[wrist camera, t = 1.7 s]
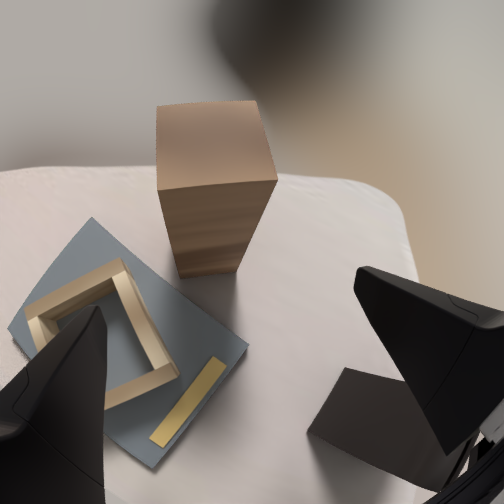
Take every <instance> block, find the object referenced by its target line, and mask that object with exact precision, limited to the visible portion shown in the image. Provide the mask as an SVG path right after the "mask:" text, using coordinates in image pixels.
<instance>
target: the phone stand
mask: <svg viewBox="0 0 504 504" xmlns="http://www.w3.org/2000/svg"><path fill="white" fill-rule="evenodd" d="M308 431H309V432H311V433H313V434H314V435H316V436H318V437H320V438H321V439H323V440H325V441H327V442H328V443H330V444H332V445H334V446H336V447H338V448H339V449H341V450H343V451H345V452H347V453H349V454H351V455H353V456H355V457H357V458H359V459H361V460H363V461H365V462H367V463H369V464H371V465H373V466H375V467H377V468H379V469H382V470H384V471H386V472H388V473H390V474H393V475H395V476H397V477H399V478H402V479H404V480H406V481H408V482H410V483H412V484H414V485H416V486H419V487H422V488H424V489H427V490H430V491H434V492H437V493H439V492H440V491H442V490H443V489H444V488H446V487H447V486H448V485H450V484H451V483H452V482H453V481H455V480H456V479H457V478H458V476H459V474H460V472H461V470H462V469H463V467H464V465H465V463H466V461H467V459H468V457H469V455H470V450H471V449H472V448H473V447H474V444H475V442H476V440H477V438H478V436H479V433H480V430H479V431H478V432H477V433H476V434H475V435H474V436H473V437H471V438H470V439H469V440H468V441H467V442H465V443H464V444H463V445H462V446H460V447H459V448H458V449H457V450H455V451H454V452H453V453H451V454H450V455H449V456H446V455H445V454H444V452H443V450H442V448H441V446H440V444H439V442H438V440H437V438H436V436H435V434H434V432H433V431H432V429H431V427H430V425H429V423H428V421H427V419H426V417H425V416H424V414H423V411H422V410H421V408H420V406H419V404H418V403H417V401H416V399H415V397H414V396H413V394H412V392H411V390H410V389H409V387H408V385H407V383H406V382H405V381H400V380H395V379H391V378H386V377H382V376H378V375H373V374H369V373H365V372H361V371H357V370H353V369H349V368H346V367H345V368H344V370H343V371H342V373H341V375H340V377H339V379H338V381H337V382H336V384H335V386H334V388H333V389H332V391H331V393H330V394H329V396H328V398H327V400H326V401H325V403H324V405H323V406H322V408H321V409H320V411H319V413H318V414H317V416H316V417H315V419H314V421H313V422H312V424H311V425H310V427H309V428H308Z"/></svg>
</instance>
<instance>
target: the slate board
mask: <svg viewBox="0 0 504 504" xmlns="http://www.w3.org/2000/svg"><path fill="white" fill-rule="evenodd" d="M119 257H120V258H121V259H122V260H123V262H124V263H125V264H126V265H127V267H128V268H129V269H130V271H131V273H132V276H133V278H134V280H135V282H136V285H137V287H138V289H139V292H140V294H141V296H142V298H143V300H144V303H145V305H146V307H147V309H148V311H149V313H150V315H151V317H152V319H153V321H154V323H155V325H156V328H157V330H158V332H159V333H160V335H161V337H162V339H163V341H164V343H165V345H166V347H167V349H168V351H169V353H170V355H171V356H172V358H173V360H174V362H175V364H176V366H177V367H178V369H179V371H180V373H181V374H180V375H179V376H178V377H177V378H175V379H173V380H171V381H169V382H167V383H165V384H162V385H160V386H158V387H156V388H154V389H152V390H150V391H147V392H145V393H143V394H141V395H139V396H136V397H134V398H132V399H129V400H127V401H125V402H123V403H120V404H118V405H116V406H113V407H111V408H108V409H106V410H104V430H103V433H105V434H106V435H107V436H108V437H110V438H111V439H112V440H113V441H115V442H116V443H117V444H118V445H120V446H121V447H122V448H124V449H125V450H126V451H128V452H129V453H130V454H132V455H133V456H135V457H136V458H137V459H139V460H140V461H142V462H143V463H145V464H146V465H147V466H149V467H150V468H152V469H153V467H154V466H155V465H156V464H157V463H158V462H159V460H160V459H161V458H162V457H163V456H164V454H165V453H166V452H167V451H168V450H169V448H170V447H171V446H172V445H173V444H174V442H175V441H176V440H177V439H178V437H179V436H180V435H181V434H182V432H183V431H184V430H185V429H186V427H187V426H188V425H189V424H190V422H191V421H192V420H193V419H194V417H195V416H196V415H197V414H198V412H199V411H200V410H201V409H202V407H203V406H204V405H205V403H206V402H207V401H208V399H209V398H210V397H211V396H212V394H213V393H214V392H215V390H216V389H217V388H218V386H219V385H220V384H221V382H222V381H223V380H224V378H225V377H226V376H227V374H228V373H229V372H230V370H231V369H232V368H233V366H234V365H235V364H236V362H237V361H238V360H239V358H240V357H241V355H242V354H243V353H244V351H245V350H246V349H247V347H248V346H249V344H248V343H247V342H245V341H244V340H242V339H241V338H240V337H238V336H237V335H236V334H234V333H233V332H231V331H230V330H229V329H227V328H226V327H225V326H223V325H222V324H220V323H219V322H218V321H216V320H215V319H214V318H212V317H211V316H210V315H208V314H207V313H206V312H204V311H203V310H202V309H200V308H199V307H198V306H197V305H195V304H194V303H193V302H191V301H190V300H189V299H188V298H186V297H185V296H184V295H182V294H181V293H180V292H179V291H177V290H176V289H175V288H174V287H172V286H171V285H170V284H169V283H167V282H166V281H165V280H164V279H163V278H161V277H160V276H159V275H158V274H156V273H155V272H154V271H153V270H152V269H150V268H149V267H148V266H147V265H146V264H144V263H143V262H142V261H141V260H140V259H139V258H137V257H136V256H135V255H134V254H133V253H132V252H130V251H129V250H128V249H127V248H126V247H125V246H124V245H122V244H121V243H120V242H119V241H118V240H117V239H116V238H115V237H113V236H112V235H111V234H110V233H109V232H108V231H107V230H106V229H105V228H103V227H102V226H101V225H100V224H99V223H98V222H97V221H96V220H95V219H94V218H93V217H91V218H90V219H89V220H88V221H87V222H86V223H85V225H84V226H83V227H82V228H81V229H80V230H79V231H78V233H77V234H76V235H75V236H74V237H73V238H72V240H71V241H70V242H69V243H68V244H67V246H66V247H65V248H64V249H63V251H62V252H61V253H60V254H59V256H58V257H57V258H56V259H55V261H54V262H53V263H52V264H51V266H50V267H49V268H48V270H47V271H46V272H45V274H44V275H43V276H42V278H41V279H40V280H39V282H38V283H37V285H36V286H35V287H34V289H33V290H32V292H31V293H30V294H29V296H28V297H27V299H26V300H25V302H24V303H23V305H22V306H21V308H20V309H19V311H18V312H17V314H16V315H15V317H14V319H13V320H12V322H11V323H10V325H9V327H8V328H7V329H8V330H9V332H10V333H11V335H12V336H13V337H14V339H15V340H16V341H17V343H18V344H19V345H20V347H21V348H22V349H23V350H24V352H25V353H26V354H27V355H28V357H29V358H30V359H31V360H32V358H33V357H34V356H35V355H36V354H37V353H38V351H37V349H36V346H35V343H34V340H33V337H32V334H31V331H30V328H29V325H28V322H27V318H26V315H25V311H24V308H25V307H26V306H28V305H30V304H32V303H33V302H35V301H37V300H39V299H41V298H42V297H44V296H46V295H48V294H50V293H51V292H53V291H55V290H57V289H59V288H61V287H62V286H64V285H66V284H68V283H70V282H72V281H74V280H76V279H78V278H79V277H81V276H83V275H85V274H87V273H89V272H91V271H93V270H95V269H97V268H99V267H101V266H103V265H105V264H107V263H109V262H111V261H113V260H115V259H117V258H119ZM90 305H98V306H99V307H100V308H101V311H102V314H103V316H104V319H105V322H106V325H107V330H108V335H107V380H106V392H107V391H110V390H112V389H114V388H116V387H119V386H121V385H123V384H125V383H128V382H130V381H132V380H134V379H136V378H138V377H141V376H143V375H145V374H147V373H149V372H151V371H153V370H155V369H154V367H153V365H152V363H151V361H150V360H149V358H148V356H147V354H146V352H145V350H144V348H143V346H142V344H141V342H140V340H139V338H138V336H137V334H136V332H135V329H134V327H133V325H132V323H131V321H130V319H129V316H128V314H127V312H126V310H125V308H124V305H123V303H122V301H121V298H120V296H119V293H118V291H117V290H116V291H114V292H112V293H110V294H108V295H106V296H104V297H102V298H100V299H98V300H96V301H94V302H92V303H90V304H88V305H86V306H90ZM86 306H84V307H83V308H81V309H79V310H77V311H75V312H73V313H71V314H69V315H67V316H65V317H63V318H61V319H59V320H57V321H56V322H57V325H58V328H59V331H61V330H62V329H63V328H64V327H65V326H66V325H67V324H68V323H69V322H70V321H71V320H72V319H73V318H75V317H76V316H77V315H78V314H79V313H80V312H81V311H82V310H83V309H84V308H85V307H86Z"/></svg>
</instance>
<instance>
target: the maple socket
mask: <svg viewBox="0 0 504 504" xmlns="http://www.w3.org/2000/svg"><path fill="white" fill-rule="evenodd" d="M116 290H117V291H118V293H119V296H120V298H121V301H122V303H123V305H124V308H125V310H126V312H127V314H128V316H129V319H130V321H131V323H132V325H133V327H134V329H135V332H136V334H137V336H138V338H139V340H140V342H141V344H142V346H143V348H144V350H145V352H146V354H147V356H148V358H149V360H150V361H151V363H152V365H153V367H154V369H155V370H153V371H151V372H149V373H147V374H145V375H143V376H141V377H138V378H136V379H134V380H132V381H130V382H128V383H125V384H123V385H121V386H119V387H116V388H114V389H112V390H110V391H107V392H105V407H104V410H106V409H108V408H111V407H113V406H116V405H118V404H120V403H123V402H125V401H127V400H129V399H132V398H134V397H136V396H139V395H141V394H143V393H145V392H147V391H150V390H152V389H154V388H156V387H158V386H160V385H162V384H165V383H167V382H169V381H171V380H173V379H175V378H177V377H178V376H179V375H180V374H181V373H180V371H179V369H178V367H177V366H176V364H175V362H174V360H173V358H172V356H171V355H170V353H169V351H168V349H167V347H166V345H165V343H164V341H163V339H162V337H161V335H160V333H159V332H158V330H157V328H156V325H155V323H154V321H153V319H152V317H151V315H150V313H149V311H148V309H147V307H146V305H145V303H144V300H143V298H142V296H141V294H140V292H139V289H138V287H137V285H136V282H135V280H134V278H133V276H132V273H131V271H130V269H129V268H128V267H127V265H126V264H125V263H124V262H123V260H122V259H121V258H120V257H119V258H117V259H115V260H113V261H111V262H109V263H107V264H105V265H103V266H101V267H99V268H97V269H95V270H93V271H91V272H89V273H87V274H85V275H83V276H81V277H79V278H78V279H76V280H74V281H72V282H70V283H68V284H66V285H64V286H62V287H61V288H59V289H57V290H55V291H53V292H51V293H50V294H48V295H46V296H44V297H42V298H41V299H39V300H37V301H35V302H33V303H32V304H30V305H28V306H26V307H25V308H24V311H25V315H26V318H27V322H28V325H29V328H30V331H31V334H32V337H33V340H34V343H35V346H36V349H37V351H38V352H39V351H40V350H41V349H42V348H43V347H44V346H45V345H46V344H47V343H48V342H49V341H50V340H51V339H53V338H54V337H55V336H56V335H57V334H58V333H59V332H60V331H59V328H58V325H57V322H56V321H57V320H59V319H61V318H63V317H65V316H67V315H69V314H71V313H73V312H75V311H77V310H79V309H81V308H83V307H84V306H86V305H88V304H90V303H92V302H94V301H96V300H98V299H100V298H102V297H104V296H106V295H108V294H110V293H112V292H114V291H116Z"/></svg>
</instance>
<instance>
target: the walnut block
mask: <svg viewBox="0 0 504 504" xmlns="http://www.w3.org/2000/svg"><path fill="white" fill-rule="evenodd" d="M156 123H157V124H156V158H157V159H156V162H157V191H158V196H159V200H160V204H161V208H162V212H163V217H164V221H165V225H166V228H167V232H168V236H169V240H170V244H171V248H172V251H173V255H174V258H175V262H176V266H177V269H178V273H179V276H180V279H183V278H191V277H198V276H206V275H213V274H221V273H228V272H235V271H237V269H238V267H239V265H240V263H241V261H242V258H243V256H244V254H245V252H246V249H247V247H248V245H249V243H250V241H251V238H252V236H253V234H254V232H255V230H256V227H257V225H258V223H259V221H260V219H261V216H262V214H263V212H264V210H265V208H266V205H267V203H268V201H269V199H270V197H271V194H272V192H273V190H274V188H275V186H276V183H277V181H278V177H277V173H276V170H275V166H274V162H273V159H272V155H271V152H270V148H269V145H268V141H267V138H266V134H265V131H264V127H263V124H262V121H261V117H260V114H259V110H258V107H257V104H256V101H219V102H200V103H187V104H175V105H166V106H157V120H156Z"/></svg>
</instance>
